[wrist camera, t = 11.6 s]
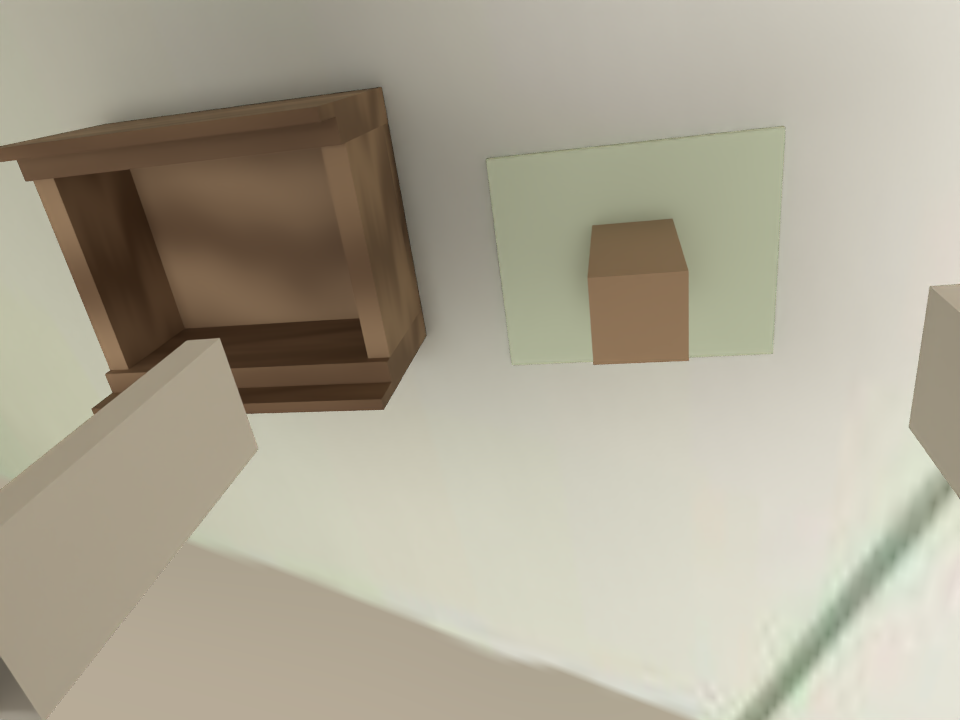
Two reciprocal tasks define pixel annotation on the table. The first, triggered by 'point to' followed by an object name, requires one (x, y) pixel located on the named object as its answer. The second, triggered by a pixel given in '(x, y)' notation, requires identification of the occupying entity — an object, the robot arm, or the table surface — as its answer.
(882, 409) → the table surface
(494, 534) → the table surface
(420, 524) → the table surface
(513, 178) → the lid
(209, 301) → the walnut box
